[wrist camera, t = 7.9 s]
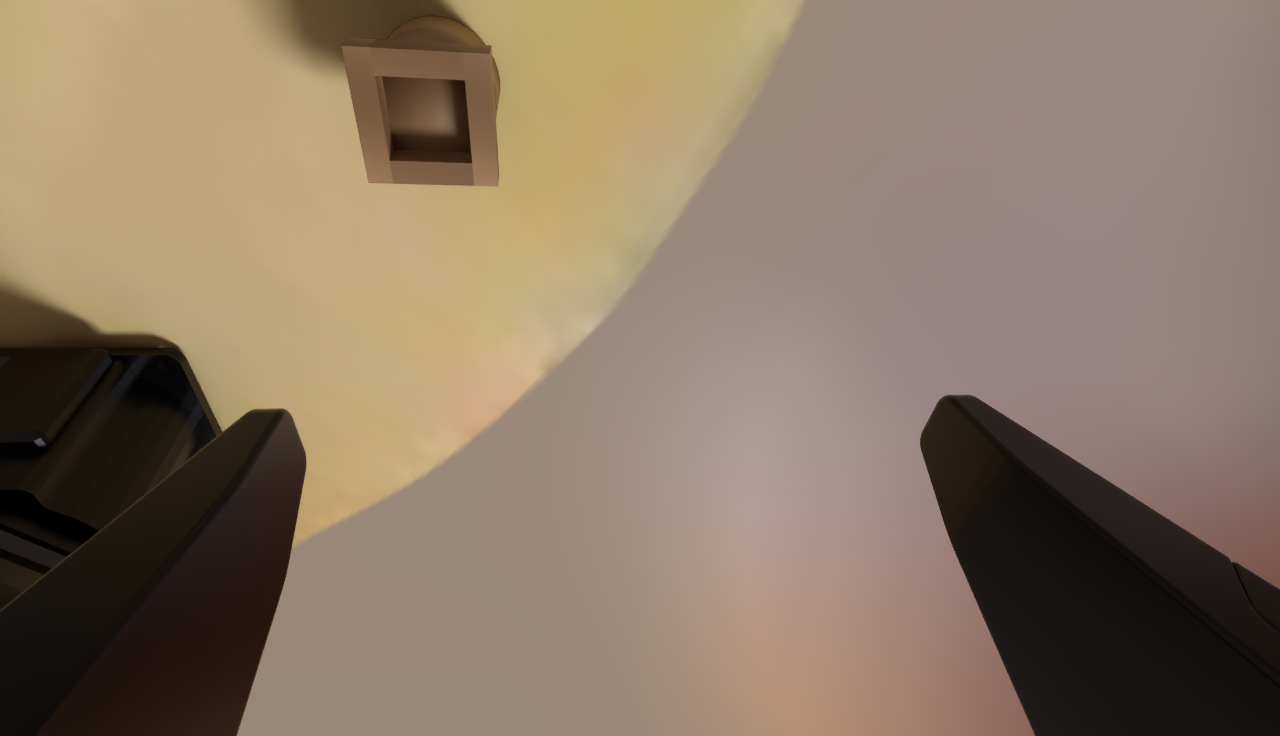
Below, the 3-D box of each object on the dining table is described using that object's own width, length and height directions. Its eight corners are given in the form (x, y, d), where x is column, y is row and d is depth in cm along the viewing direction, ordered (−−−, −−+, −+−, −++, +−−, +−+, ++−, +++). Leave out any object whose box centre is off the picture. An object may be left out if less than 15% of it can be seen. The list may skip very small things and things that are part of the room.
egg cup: (503, 139, 19) (498, 186, 17) (390, 134, 19) (368, 182, 16) (496, 19, 17) (489, 54, 15) (369, 11, 17) (341, 45, 14)
